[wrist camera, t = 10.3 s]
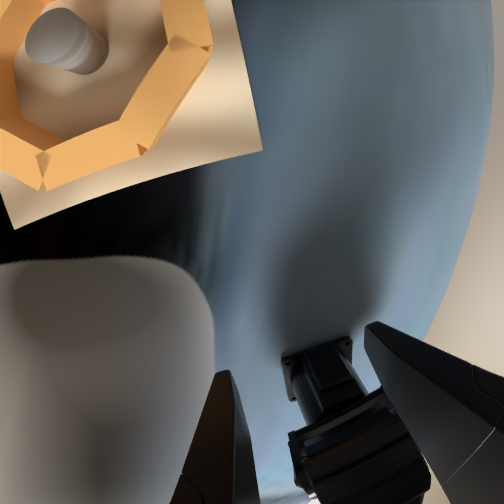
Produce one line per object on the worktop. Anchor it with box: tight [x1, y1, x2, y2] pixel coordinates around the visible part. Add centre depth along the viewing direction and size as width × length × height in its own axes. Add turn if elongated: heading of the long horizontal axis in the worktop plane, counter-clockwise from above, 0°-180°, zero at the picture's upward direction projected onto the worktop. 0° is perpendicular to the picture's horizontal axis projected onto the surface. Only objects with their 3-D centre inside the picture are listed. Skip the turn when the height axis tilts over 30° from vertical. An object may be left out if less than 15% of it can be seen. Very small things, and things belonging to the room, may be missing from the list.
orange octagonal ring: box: [0, 0, 214, 191], centre depth 10 cm, size 13×13×4 cm
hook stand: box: [0, 0, 263, 230], centre depth 10 cm, size 16×16×6 cm
